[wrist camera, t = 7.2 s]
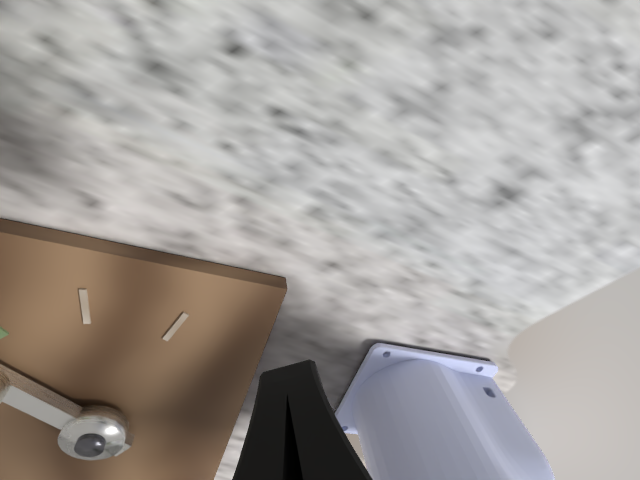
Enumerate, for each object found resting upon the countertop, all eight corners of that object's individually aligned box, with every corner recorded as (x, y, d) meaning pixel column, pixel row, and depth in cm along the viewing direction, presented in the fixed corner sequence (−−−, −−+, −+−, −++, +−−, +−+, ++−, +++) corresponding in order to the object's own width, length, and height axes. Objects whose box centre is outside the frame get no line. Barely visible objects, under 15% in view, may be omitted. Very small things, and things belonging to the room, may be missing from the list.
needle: (147, 426, 22) (122, 527, 18) (107, 453, 23) (73, 556, 18) (-61, 311, 17) (-173, 415, 12) (-107, 349, 17) (-229, 462, 13)
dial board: (285, 277, 20) (287, 290, 19) (209, 479, 28) (207, 495, 27) (-109, 195, 15) (-132, 207, 14) (-73, 467, 23) (-87, 486, 22)
